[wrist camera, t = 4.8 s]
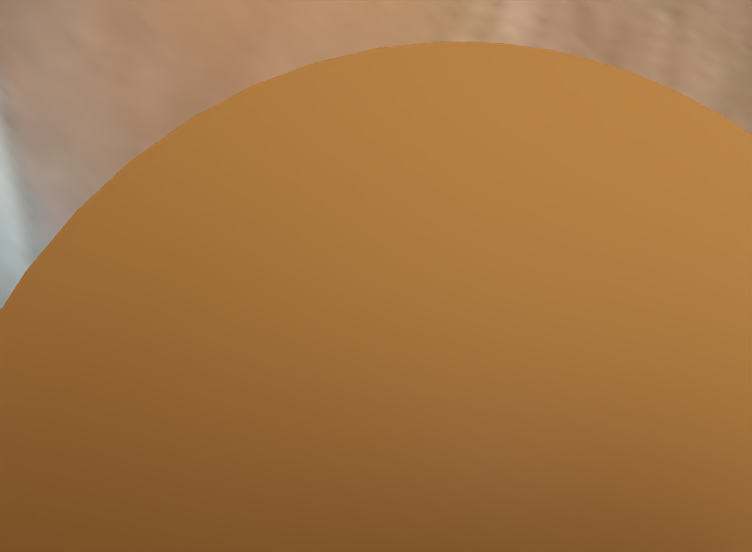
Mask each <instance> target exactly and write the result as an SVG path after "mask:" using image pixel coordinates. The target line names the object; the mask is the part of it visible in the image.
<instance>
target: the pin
mask: <svg viewBox="0 0 752 552" xmlns="http://www.w3.org/2000/svg"><path fill="white" fill-rule="evenodd" d="M0 552H752V135H751V134H749V133H748V132H746V131H745V130H743V129H742V128H740V127H739V126H738V125H736V124H735V123H733V122H732V121H730V120H729V119H727V118H726V117H724V116H722V115H720V114H718V113H716V112H715V111H713V110H711V109H709V108H707V107H705V106H703V105H702V104H700V103H698V102H696V101H694V100H692V99H690V98H689V97H687V96H685V95H683V94H681V93H679V92H678V91H676V90H674V89H671V88H669V87H666V86H664V85H661V84H659V83H656V82H654V81H651V80H649V79H646V78H644V77H641V76H639V75H636V74H634V73H631V72H629V71H626V70H624V69H621V68H619V67H615V66H611V65H608V64H604V63H600V62H597V61H593V60H589V59H586V58H582V57H578V56H575V55H571V54H567V53H564V52H559V51H552V50H545V49H538V48H532V47H525V46H518V45H511V44H504V43H477V42H432V43H422V44H412V45H402V46H392V47H383V48H376V49H371V50H367V51H363V52H358V53H354V54H350V55H345V56H341V57H337V58H333V59H328V60H324V61H320V62H315V63H313V64H310V65H307V66H305V67H302V68H299V69H296V70H294V71H291V72H288V73H286V74H283V75H280V76H278V77H275V78H272V79H270V80H267V81H264V82H262V83H259V84H256V85H254V86H251V87H249V88H248V89H246V90H244V91H242V92H240V93H238V94H236V95H234V96H232V97H231V98H229V99H227V100H225V101H223V102H221V103H219V104H217V105H215V106H213V107H212V108H210V109H208V110H206V111H204V112H202V113H200V114H198V115H196V116H194V117H193V118H191V119H190V120H188V121H187V122H185V123H184V124H182V125H181V126H180V127H178V128H177V129H175V130H174V131H172V132H171V133H170V134H168V135H167V136H165V137H164V138H163V139H161V140H160V141H158V142H157V143H155V144H154V145H153V146H151V147H150V148H148V149H147V150H146V151H144V152H143V153H141V154H140V155H138V156H137V157H136V158H134V159H133V160H132V161H131V162H129V163H128V164H127V165H126V166H125V167H124V168H123V169H122V170H121V171H120V172H119V173H117V174H116V175H115V176H114V177H113V178H112V179H111V180H110V181H109V182H108V183H107V184H106V185H104V186H103V187H102V188H101V189H100V190H99V191H98V192H97V193H96V194H95V195H94V196H92V197H91V198H90V199H89V200H88V201H87V202H86V203H85V204H84V205H83V206H82V207H80V208H79V209H78V210H77V211H76V212H75V214H74V215H73V216H72V217H71V218H70V220H69V221H68V222H67V223H66V224H65V225H64V227H63V228H62V229H61V230H60V231H59V233H58V234H57V235H56V236H55V237H54V239H53V240H52V241H51V242H50V243H49V245H48V246H47V247H46V248H45V249H44V250H43V252H42V253H41V254H40V255H39V256H38V258H37V259H36V260H35V261H34V262H33V264H32V265H31V266H30V267H29V268H28V269H27V271H26V272H25V273H24V275H23V277H22V278H21V280H20V281H19V283H18V284H17V286H16V287H15V289H14V291H13V292H12V294H11V295H10V297H9V298H8V300H7V301H6V303H5V305H4V306H3V308H2V309H1V311H0Z"/></svg>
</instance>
